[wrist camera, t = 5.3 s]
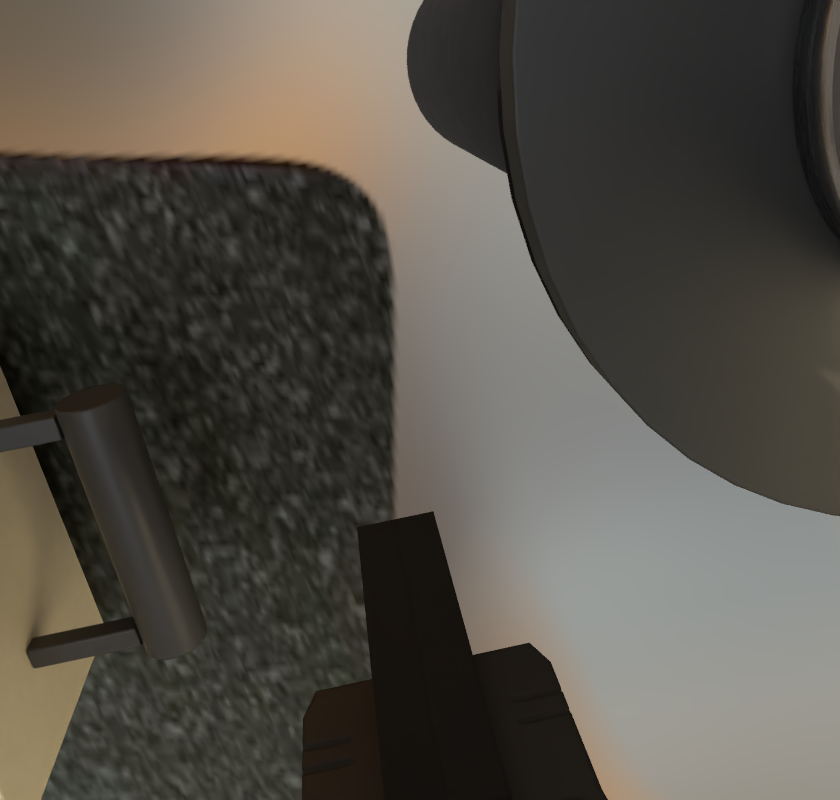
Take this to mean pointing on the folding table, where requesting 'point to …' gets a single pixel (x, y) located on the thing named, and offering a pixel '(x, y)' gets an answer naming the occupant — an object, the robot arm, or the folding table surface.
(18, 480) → the drawer
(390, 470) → the folding table surface
